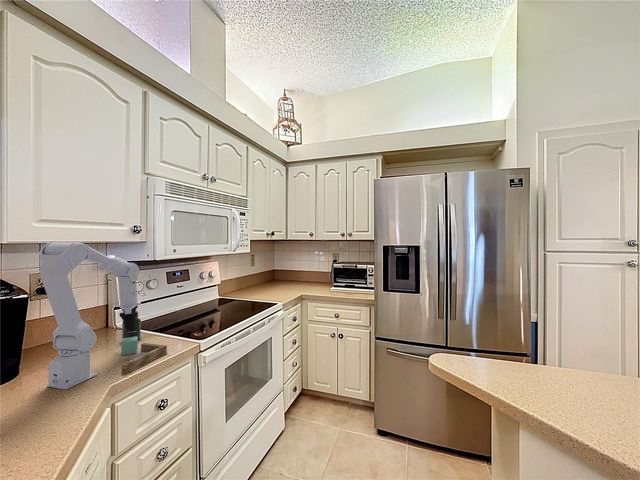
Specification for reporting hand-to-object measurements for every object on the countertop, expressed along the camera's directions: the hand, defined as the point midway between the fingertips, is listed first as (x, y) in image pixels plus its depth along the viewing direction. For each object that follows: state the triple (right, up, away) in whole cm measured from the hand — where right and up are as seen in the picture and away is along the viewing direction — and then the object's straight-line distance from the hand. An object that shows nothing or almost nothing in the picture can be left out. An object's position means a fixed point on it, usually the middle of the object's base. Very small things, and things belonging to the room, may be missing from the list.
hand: (130, 326), depth 111 cm
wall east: (+10, -10, -1) cm, 14 cm away
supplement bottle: (-8, -10, +12) cm, 18 cm away
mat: (+7, -10, -5) cm, 13 cm away
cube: (0, -10, 0) cm, 10 cm away
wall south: (+12, -10, -11) cm, 19 cm away
